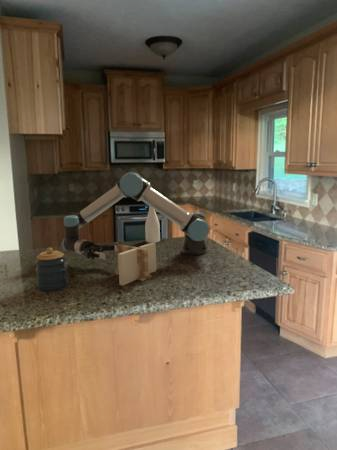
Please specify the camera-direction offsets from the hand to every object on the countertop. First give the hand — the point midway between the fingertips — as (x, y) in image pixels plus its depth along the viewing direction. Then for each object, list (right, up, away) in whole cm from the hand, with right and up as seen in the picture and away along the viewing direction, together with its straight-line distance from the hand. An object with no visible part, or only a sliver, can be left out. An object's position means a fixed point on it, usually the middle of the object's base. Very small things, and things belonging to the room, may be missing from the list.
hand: (115, 253), depth 166 cm
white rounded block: (+15, +3, +63) cm, 65 cm away
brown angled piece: (+9, -10, -4) cm, 14 cm away
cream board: (+12, -11, -6) cm, 17 cm away
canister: (-25, -14, -16) cm, 32 cm away
